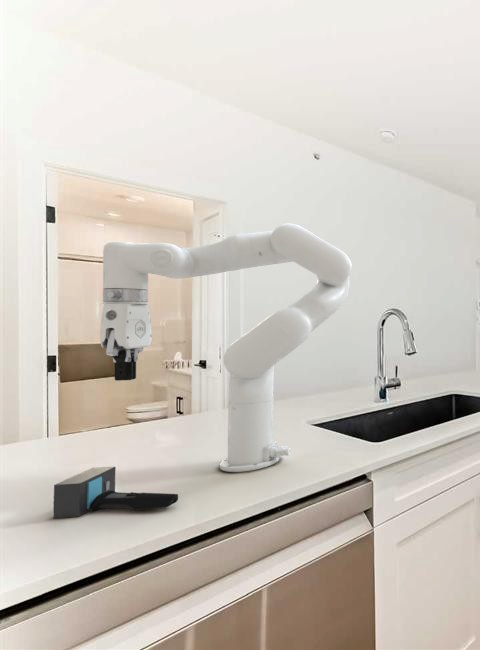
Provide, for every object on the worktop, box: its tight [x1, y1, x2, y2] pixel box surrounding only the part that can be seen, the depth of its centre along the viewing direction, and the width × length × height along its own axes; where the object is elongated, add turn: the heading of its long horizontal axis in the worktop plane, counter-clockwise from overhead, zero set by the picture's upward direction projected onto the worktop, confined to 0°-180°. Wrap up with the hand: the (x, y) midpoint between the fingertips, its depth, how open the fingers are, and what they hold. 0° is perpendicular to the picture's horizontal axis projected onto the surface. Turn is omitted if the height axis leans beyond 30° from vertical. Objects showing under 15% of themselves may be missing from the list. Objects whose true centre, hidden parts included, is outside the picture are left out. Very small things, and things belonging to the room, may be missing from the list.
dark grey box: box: [52, 466, 116, 519], centre depth 81 cm, size 4×6×9 cm
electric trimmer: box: [89, 490, 179, 512], centre depth 81 cm, size 4×16×3 cm, turn 88°
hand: (125, 379), depth 95 cm, fingers closed
